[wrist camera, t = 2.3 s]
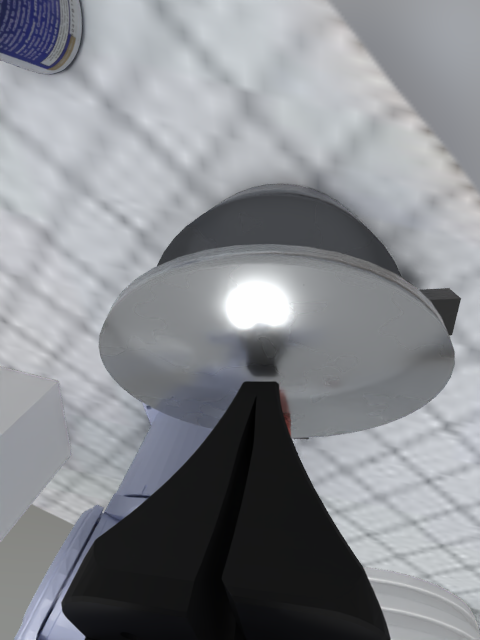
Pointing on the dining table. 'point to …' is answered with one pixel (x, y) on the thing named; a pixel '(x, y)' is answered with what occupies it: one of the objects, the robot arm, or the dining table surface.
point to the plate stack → (421, 608)
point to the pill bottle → (40, 33)
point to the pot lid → (278, 338)
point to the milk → (28, 441)
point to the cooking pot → (294, 232)
